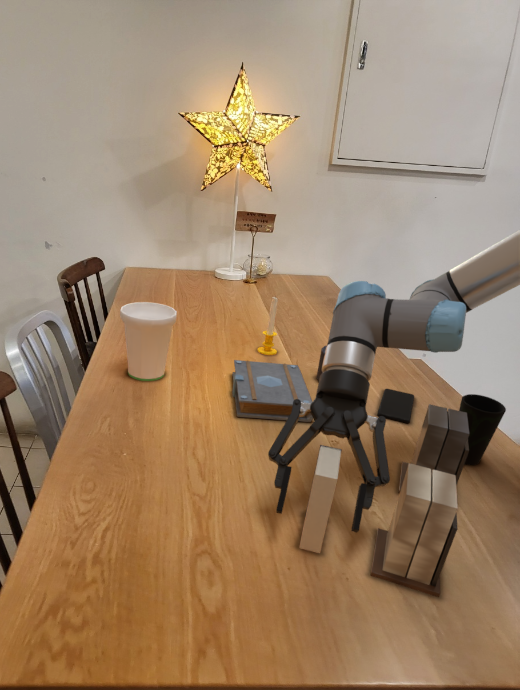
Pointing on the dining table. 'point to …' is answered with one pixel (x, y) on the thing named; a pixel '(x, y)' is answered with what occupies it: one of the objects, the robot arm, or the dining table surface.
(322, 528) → the beige rectangular block
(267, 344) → the candle
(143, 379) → the cup
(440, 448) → the grey books
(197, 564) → the dining table surface
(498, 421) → the cup
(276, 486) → the robot arm
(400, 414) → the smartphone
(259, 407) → the book
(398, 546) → the white books
